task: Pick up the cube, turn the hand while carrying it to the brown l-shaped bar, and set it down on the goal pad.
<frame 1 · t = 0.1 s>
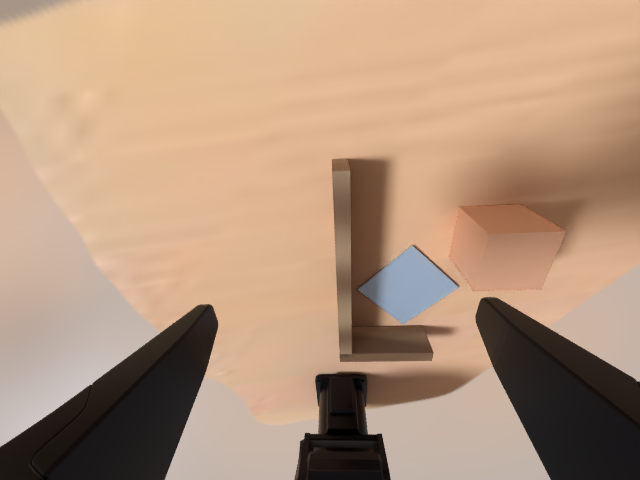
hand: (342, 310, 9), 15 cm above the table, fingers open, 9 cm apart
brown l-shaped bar: (378, 259, 25), on the table
cube: (482, 231, 24), on the table
goal pad: (407, 287, 27), on the table
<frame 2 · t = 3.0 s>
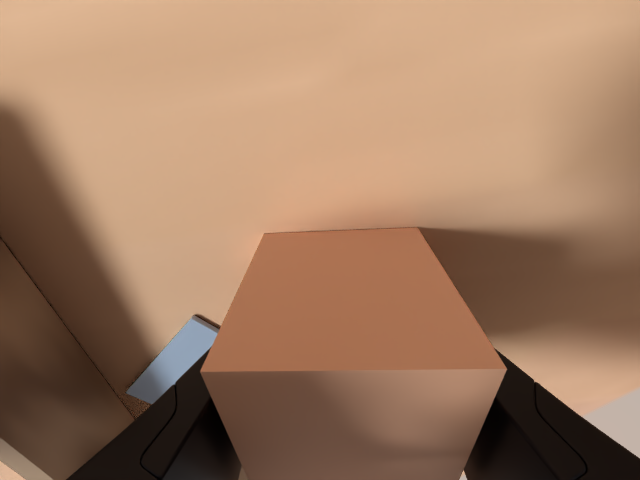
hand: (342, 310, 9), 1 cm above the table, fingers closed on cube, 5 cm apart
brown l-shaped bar: (137, 340, 12), on the table
cube: (341, 290, 10), on the table, touching gripper
goal pad: (223, 388, 13), on the table
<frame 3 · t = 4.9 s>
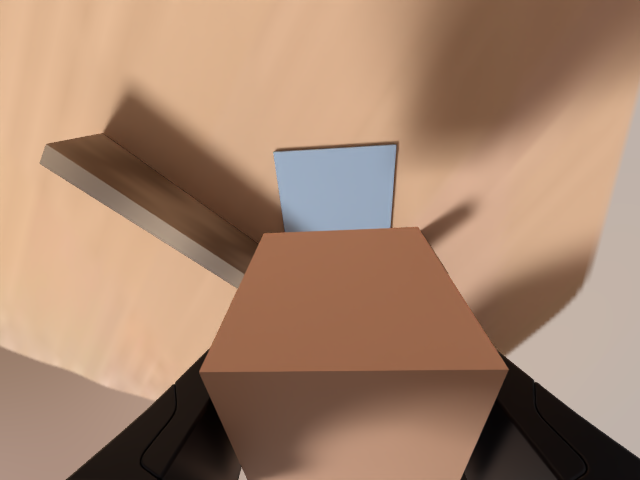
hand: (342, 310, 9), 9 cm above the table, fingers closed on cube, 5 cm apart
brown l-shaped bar: (264, 203, 17), on the table
cube: (341, 290, 10), point 8 cm above the table, touching gripper
goal pad: (336, 204, 17), on the table
when the fingers open (2 cm above the table, at t = 6.8 s): cube drops 1 cm, resting on goal pad.
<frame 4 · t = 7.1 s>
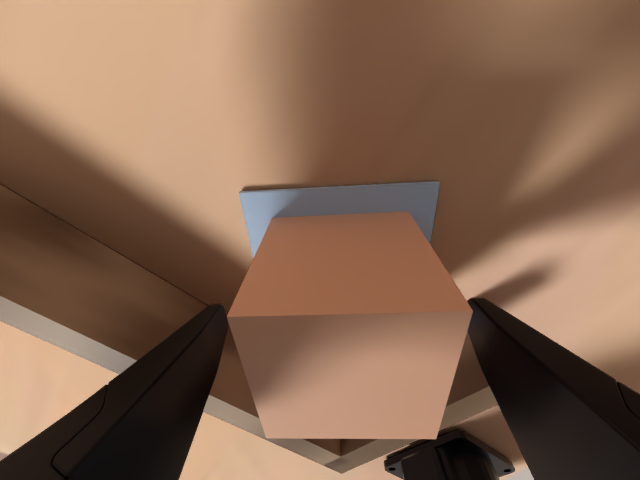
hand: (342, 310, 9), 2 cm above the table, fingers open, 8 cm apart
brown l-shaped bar: (230, 263, 11), on the table
cube: (341, 270, 11), resting on goal pad
goal pad: (339, 267, 11), on the table
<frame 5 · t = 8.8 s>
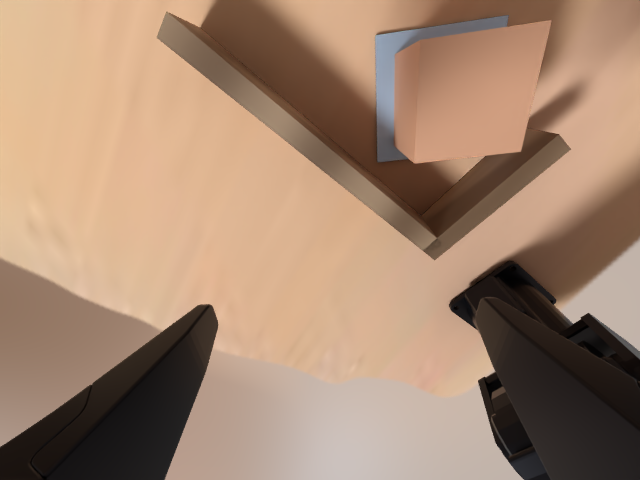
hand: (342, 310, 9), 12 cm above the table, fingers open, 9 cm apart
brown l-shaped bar: (358, 101, 17), on the table
cube: (436, 97, 16), resting on goal pad
goal pad: (434, 97, 16), on the table
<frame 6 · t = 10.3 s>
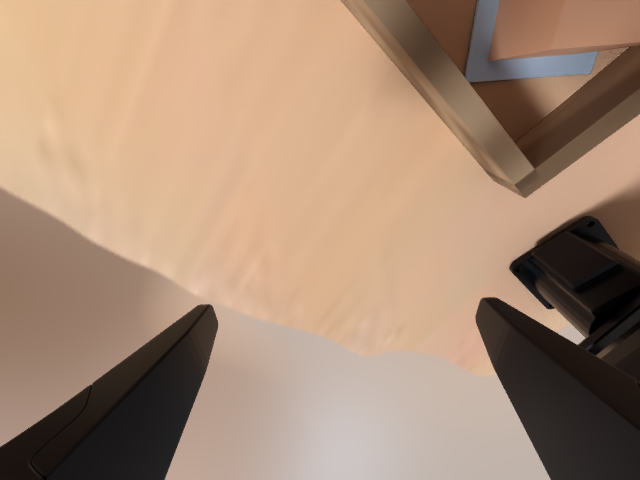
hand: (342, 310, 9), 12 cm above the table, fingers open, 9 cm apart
goal pad: (545, 0, 14), on the table
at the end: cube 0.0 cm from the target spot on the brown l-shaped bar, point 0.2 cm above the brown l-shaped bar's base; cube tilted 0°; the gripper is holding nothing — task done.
